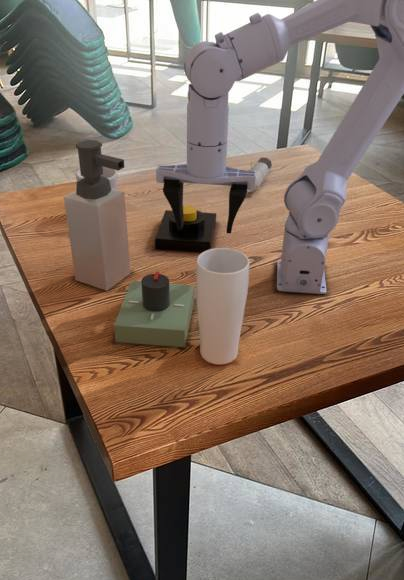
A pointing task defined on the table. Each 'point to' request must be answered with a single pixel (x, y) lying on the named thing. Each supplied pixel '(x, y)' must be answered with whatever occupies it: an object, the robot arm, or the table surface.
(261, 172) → the clear plastic bottle
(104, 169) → the cup
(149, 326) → the dial panel
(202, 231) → the button block
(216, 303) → the drinking glass
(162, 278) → the dial
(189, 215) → the button
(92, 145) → the soap dispenser
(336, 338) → the table surface
